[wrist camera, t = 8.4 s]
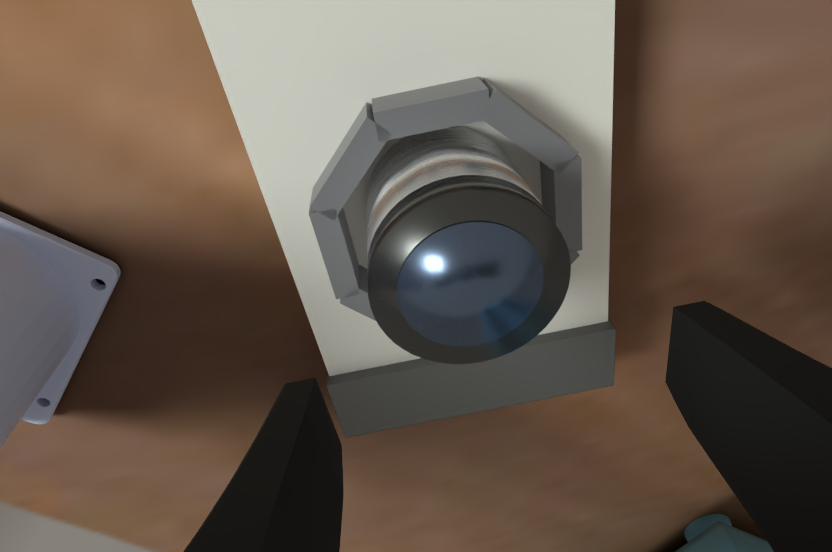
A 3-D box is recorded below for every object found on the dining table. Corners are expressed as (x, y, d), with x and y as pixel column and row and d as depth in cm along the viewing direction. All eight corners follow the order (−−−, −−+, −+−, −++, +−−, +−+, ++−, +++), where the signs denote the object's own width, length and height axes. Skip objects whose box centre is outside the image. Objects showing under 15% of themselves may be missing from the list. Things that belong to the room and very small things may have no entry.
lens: (458, 290, 19) (487, 391, 15) (337, 224, 17) (329, 318, 13) (551, 179, 17) (614, 259, 13) (423, 92, 15) (448, 151, 11)
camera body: (587, 339, 24) (624, 403, 21) (347, 386, 25) (345, 457, 21) (585, -162, 15) (652, -192, 11) (187, -75, 15) (136, -79, 11)
